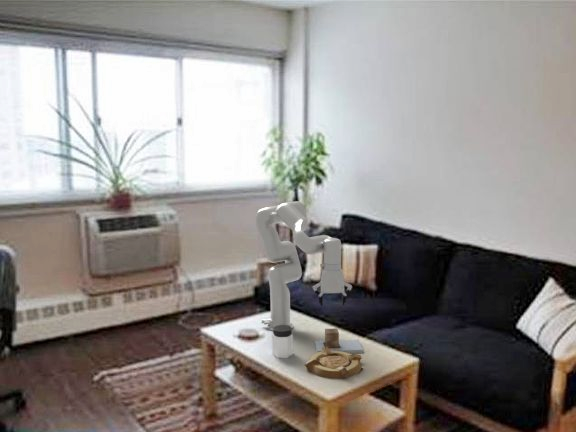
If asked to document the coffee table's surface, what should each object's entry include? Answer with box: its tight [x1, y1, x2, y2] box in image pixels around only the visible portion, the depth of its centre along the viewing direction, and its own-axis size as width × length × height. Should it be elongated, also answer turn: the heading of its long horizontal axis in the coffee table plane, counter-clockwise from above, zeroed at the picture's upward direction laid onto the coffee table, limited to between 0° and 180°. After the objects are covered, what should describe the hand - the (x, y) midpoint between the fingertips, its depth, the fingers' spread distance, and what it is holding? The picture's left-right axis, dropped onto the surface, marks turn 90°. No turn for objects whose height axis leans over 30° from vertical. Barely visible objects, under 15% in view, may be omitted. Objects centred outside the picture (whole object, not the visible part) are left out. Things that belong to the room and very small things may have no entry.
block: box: [324, 328, 340, 348], centre depth 250 cm, size 6×6×8 cm
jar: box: [271, 325, 294, 359], centre depth 244 cm, size 9×8×12 cm
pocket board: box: [314, 338, 364, 354], centre depth 251 cm, size 20×12×2 cm, turn 92°
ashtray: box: [304, 346, 363, 380], centre depth 232 cm, size 24×24×5 cm
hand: (332, 304), depth 248 cm, fingers open, 9 cm apart
